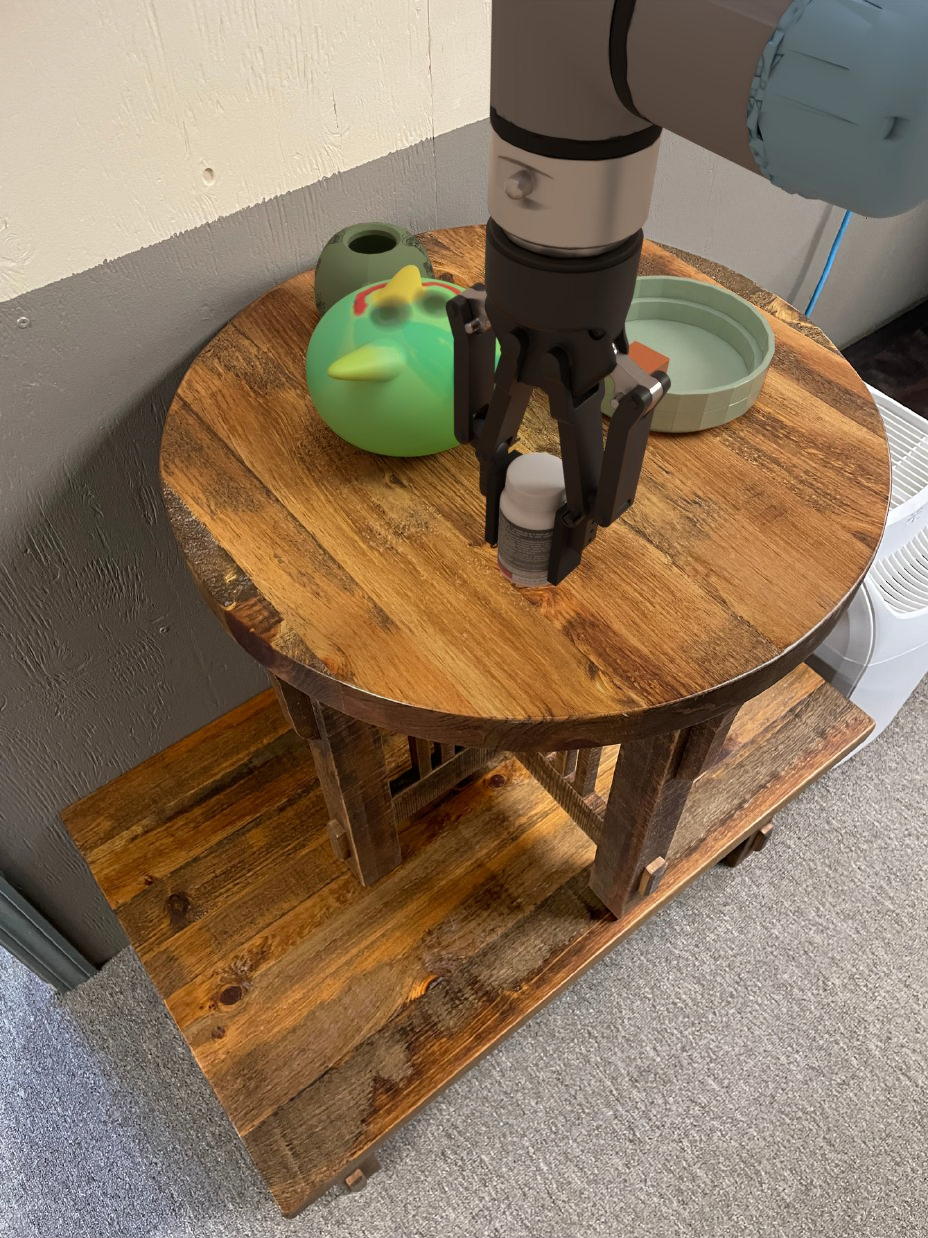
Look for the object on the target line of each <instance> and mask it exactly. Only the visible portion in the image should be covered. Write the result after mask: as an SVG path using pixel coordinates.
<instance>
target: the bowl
mask: <svg viewBox="0 0 928 1238" xmlns="http://www.w3.org/2000/svg"><path fill="white" fill-rule="evenodd" d="M625 330H626V335H627V339H628V342H629V345H630V344H631V343H633V342H634V341H637V342H639V343H641V344H643V345H645V346H647V347H649V348H651V349H653V350H655V351H656V352H658V353H660V354H662V355H664V356H666V357H668V358H670V360H669V365H668V369H667V375H668V376H669V378H670V380H671V387H670V389H669V390H668V392H667V393H666V394H665V396H664V397H663V398H662V400H661V401H660V402H659V404H658V405H657V406H656V408H655V409H654V414H653V418H652V423H651V427H650V431H651V432H657V433H658V432H659V433H669V434H675V433H676V434H679V433H680V434H681V433H682V434H683V433H694V432H700V431H704V430H708V429H712V428H715V427H719V426H723V425H725V424H728V423H730V422H731V421H734V420H735V419H737V418H740V417H742V416H743V415H745V413H746V412H747V411H749V409H751V408H752V407H753V406H754V405H755V404H756V403H757V401H758V400H759V397H760V394H761V392H762V390H763V389H764V385H765V382H766V379H767V377H768V373H769V370H770V367H771V365H772V361H773V359H774V355H775V352H776V341H775V340H776V339H775V332H774V331H773V329H772V327H771V325H770V323H769V321H768V319H767V318H766V317H765V316H764V315H763V314H762V313H761V312H760V311H759V310H758V309H757V308H756V306H755V305H753V304H752V303H751V302H749V301H747V300H745V299H744V298H743V297H742V296H739V294H737V293H735V292H733V291H730V290H728V289H726V288H723V287H721V286H718V285H716V284H713V283H710V282H706V281H702V280H699V279H695V278H690V277H682V276H673V275H663V274H662V275H637V279H636V285H635V291H634V295H633V299H632V302H631V305H630V308H629V311H628V314H627V317H626V321H625ZM604 379H605V396H604V398H603V400H602V403H601V414H604V415H605V416H607V417H609V418H610V419H611V417H612V415H613V413H614V412H615V410H616V409H613V408H612V407H611V405H610V401H611V399H613V398H614V397H613V392H614V388H615V387H614V382H613V380H612V378H611V377H610V376H609V375H608V376H607V377H605V378H604Z"/></svg>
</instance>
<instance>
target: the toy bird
mask: <svg viewBox="0 0 928 1238" xmlns="http://www.w3.org/2000/svg"><path fill="white" fill-rule="evenodd" d="M466 289H467V288H465V287H462V286H460V285H457V284H456V283H452V282H448V281H445V280H441V279H436V278H435V279H430V278H421V277H420V272H419V270H418V268H417V267H416V266H414V265H408V266H405V267H404V268H402V269H401V270H400V271H399V272H398V273H397V274H396V275H395V276H394V277H393V278H392V279H389V280H384V281H380V282H377V283H373V284H370V285H368V286H365V287H363V288H360V289H358V290H356V291H354V292H352V293H350V294H349V295H347V296H345V297H344V298H342V299H341V300H340V301H338V302H337V303H336V304H335V305H333V306H332V307H331V308H330V309H329V310H328V311H327V312H326V314H325V315H324V316H323V317H322V319H321V318H320V320H319V322H318V323H317V325H316V326H315V328H314V330H313V332H312V334H311V337H310V340H309V343H308V346H307V350H306V357H305V379H306V385H307V389H308V392H309V396H310V398H311V401H312V403H313V405H314V408H315V409H316V411H317V413H318V414H319V417H321V419H322V420H323V422H324V423H325V424H326V425H327V426H328V427H329V429H330V430H332V431H333V432H334V433H335V434H336V435H337V436H338V437H340V438H341V439H343V440H344V441H345V442H347V443H349V444H351V445H352V446H355V447H357V448H359V449H361V450H364V451H366V452H369V453H373V454H378V455H381V456H382V455H383V456H387V457H388V456H390V457H400V458H401V457H404V458H407V457H410V458H411V457H413V458H414V457H423V456H430V455H434V454H438V453H442V452H446V451H448V450H451V449H453V448H456V447H459V446H461V445H462V444H460V443H459V442H458V441H457V440H456V438H455V436H454V338H453V335H452V331H451V327H450V324H449V320H448V316H447V312H446V307H445V306H446V302H447V301H448V300H450V299H452V298H453V297H455V296H457V295H458V294H460V293H461V292H463V291H464V290H466ZM500 347H501V346H500V344H499V342H498V340H497V337H496V357H495V371H496V368H497V365H498V361H499V358H500V355H501V351H500ZM495 386H496V384H495V383H494V389H495ZM473 416H474V415H473Z"/></svg>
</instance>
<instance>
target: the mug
mask: <svg viewBox="0 0 928 1238" xmlns="http://www.w3.org/2000/svg"><path fill="white" fill-rule="evenodd" d="M316 263H317V264H316V268H315V270H314V281H313V282H314V285H313V293H314V303H315V304H314V305H315V307H316V309H317V312H318V315H319V318H320V320H321V319H322V317H323V316H324V315H325V314H326V312H327V311H328V310H329V309H330V308H331V307H332V306H333V305H335V304H336V303H337V302H338V301H340V300H341V299H342V298H344V297H345V296H347V295H349V294H350V293H352V292H354V291H356V290H358V289H360V288H363V287H365V286H368V285H370V284H373V283H377V282H380V281H384V280H389V279H392V278H393V277H394V276H395V275H396V274H397V273H398V272H399V271H400V270H401V269H402V268H404V267H405V266H408V265H414V266H416V267H417V268H418V270H419V272H420V277H421V278H430V279H436V275H435V270H434V267H433V263H432V260H431V258H430V256H429V254H428V251H427V250H426V248H425V246H424V245H423V244H422V242H421V241H420V240H419V239H418V238H417V237H416V236H415V235H413V234H412V233H411V232H410V231H408V230H407V229H406V228H404V227H401V226H398V225H396V224H393V223H389V222H381V221H380V222H379V221H371V222H370V221H369V222H359V223H356V224H352V225H349V226H345V227H343V228H342V229H341V230H339V231H337V232H336V233H334V234H333V235H332V236H331V237H330V239H328V241H327V242H326V244H325V245H324V247H323V248H322V250H321V252H320V255H319V257H318V260H317V262H316Z"/></svg>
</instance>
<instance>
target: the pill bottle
mask: <svg viewBox="0 0 928 1238" xmlns="http://www.w3.org/2000/svg"><path fill="white" fill-rule="evenodd" d="M566 502H567V501H566V492H565V484H564V475H563V466H562V458H559V457H558V456H555V455H554V454H550V453H546V452H528V453H524V454H523V455H521V456H519V457H517V458H516V459H514V460H513V461H512V462H511V464H510V465H509V467H508V469H507V475H506V482H505V488H504V489H503V491H502V494H501V497H500V513H499V534H498V542H497V553H496V564H497V568H498V569H499V572H500V573H501V574H502V576H503V577H504V578H505V579H507V580H508V581H509V582H511V583H513V584H514V585H519V586H522V587H526V588H541V587H546V586H548V585H551V583H549V582H548V581H547V576H548V568H549V560H550V552H551V544H552V536H553V528H554V520H555V512H556V511H557V510H558V509H559V508H560V507H561V506H563V505H564V504H565V503H566Z"/></svg>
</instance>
